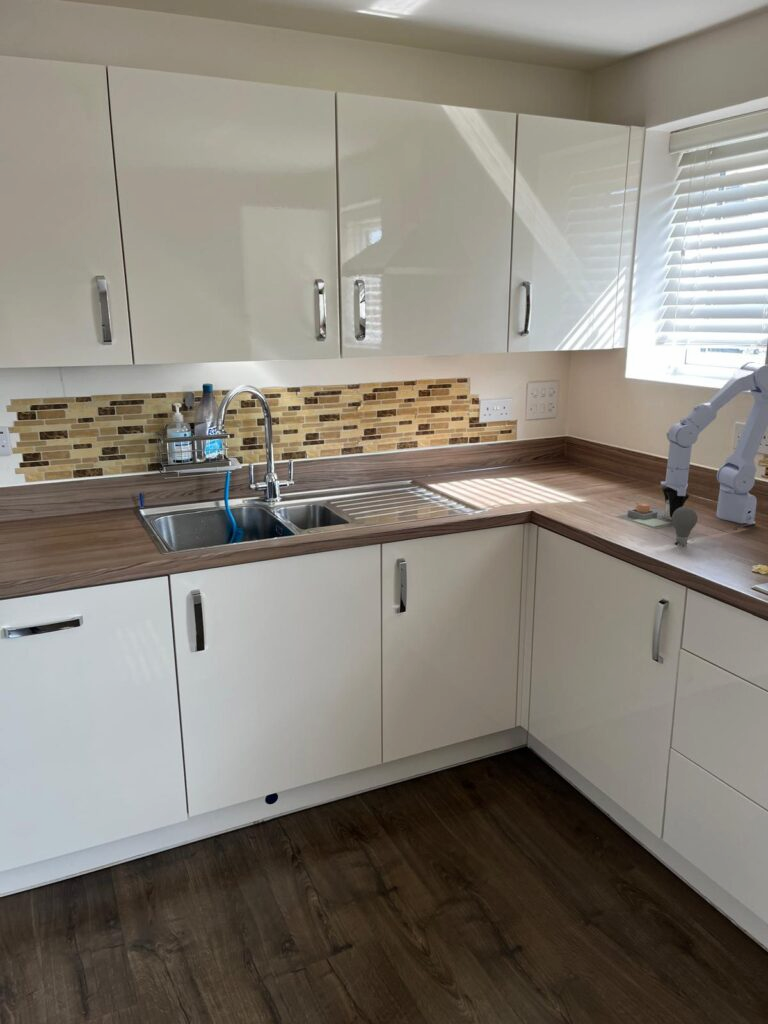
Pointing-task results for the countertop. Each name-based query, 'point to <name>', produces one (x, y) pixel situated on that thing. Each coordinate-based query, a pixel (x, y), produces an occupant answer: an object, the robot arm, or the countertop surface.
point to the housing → (648, 518)
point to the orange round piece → (643, 508)
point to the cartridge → (667, 510)
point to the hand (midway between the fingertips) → (672, 514)
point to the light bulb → (684, 523)
